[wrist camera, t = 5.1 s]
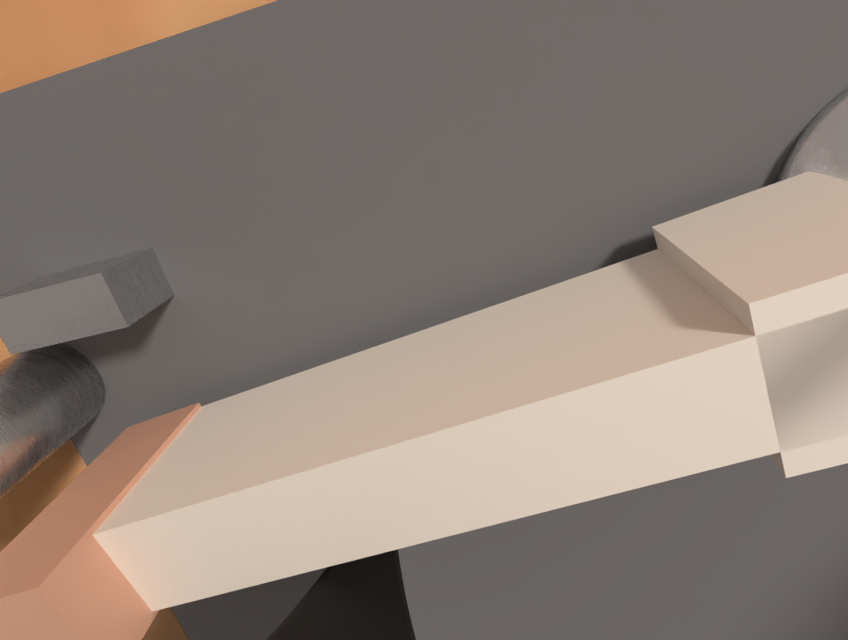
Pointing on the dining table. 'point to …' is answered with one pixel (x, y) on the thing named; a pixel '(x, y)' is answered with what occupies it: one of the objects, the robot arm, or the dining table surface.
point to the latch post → (64, 352)
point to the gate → (467, 423)
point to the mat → (440, 258)
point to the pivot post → (821, 144)
